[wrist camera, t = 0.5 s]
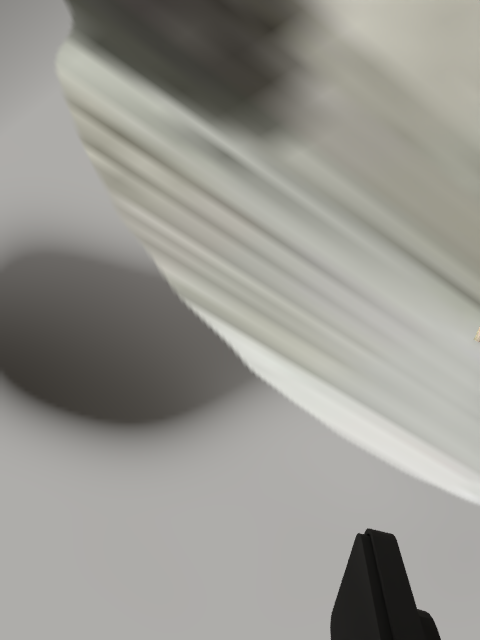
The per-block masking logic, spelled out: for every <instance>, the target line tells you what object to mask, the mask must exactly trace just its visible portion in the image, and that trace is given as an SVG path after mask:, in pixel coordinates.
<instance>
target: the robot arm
mask: <svg viewBox="0 0 480 640" xmlns="http://www.w3.org/2000/svg"><path fill="white" fill-rule="evenodd" d="M330 628H331V640H441V639H440V636H439V633H438V630H437V627H436V625H435V622H434V620H433V618H432V617H431V616H430V614H429V613H427V612H426V611H422V610H419V609H417V607H416V604H415V601H414V597H413V594H412V591H411V587H410V584H409V580H408V577H407V574H406V570H405V567H404V564H403V560H402V557H401V553H400V550H399V547H398V543H397V540H396V538H395V536H394V535H393V534H390V533H385V532H381V531H376V530H372V529H367V530H366V531H365V534H360V533H358V534H357V536H356V538H355V541H354V545H353V548H352V551H351V554H350V557H349V560H348V564H347V567H346V570H345V573H344V576H343V579H342V583H341V586H340V589H339V592H338V595H337V598H336V601H335V605H334V608H333V611H332V615H331V627H330Z"/></svg>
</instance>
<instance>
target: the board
mask: <svg viewBox="0 0 480 640" xmlns="http://www.w3.org/2000/svg"><path fill="white" fill-rule="evenodd" d="M474 340H476V341H478V342H480V328H479V330H478V332H477V334H476V336H475V339H474Z"/></svg>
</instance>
